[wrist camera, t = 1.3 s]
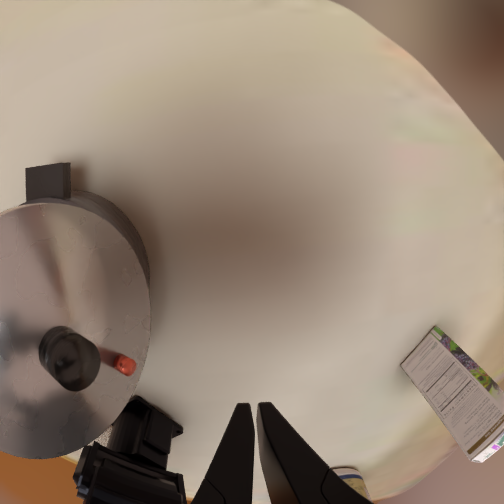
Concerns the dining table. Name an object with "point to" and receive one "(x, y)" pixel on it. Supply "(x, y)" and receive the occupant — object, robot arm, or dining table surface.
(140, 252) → the cooker pot
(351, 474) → the supplement tub
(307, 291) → the dining table surface
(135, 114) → the dining table surface
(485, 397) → the syrup box
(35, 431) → the cooker lid
